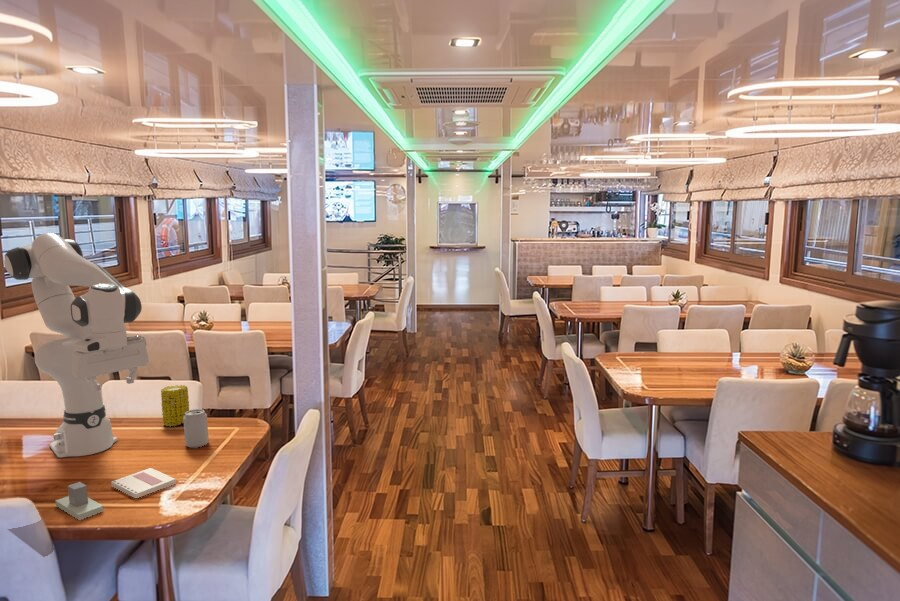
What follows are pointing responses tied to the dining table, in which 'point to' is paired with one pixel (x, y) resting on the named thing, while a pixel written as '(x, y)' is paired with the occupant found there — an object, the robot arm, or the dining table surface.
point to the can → (195, 428)
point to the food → (174, 404)
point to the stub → (79, 502)
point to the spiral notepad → (143, 482)
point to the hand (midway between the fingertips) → (114, 386)
